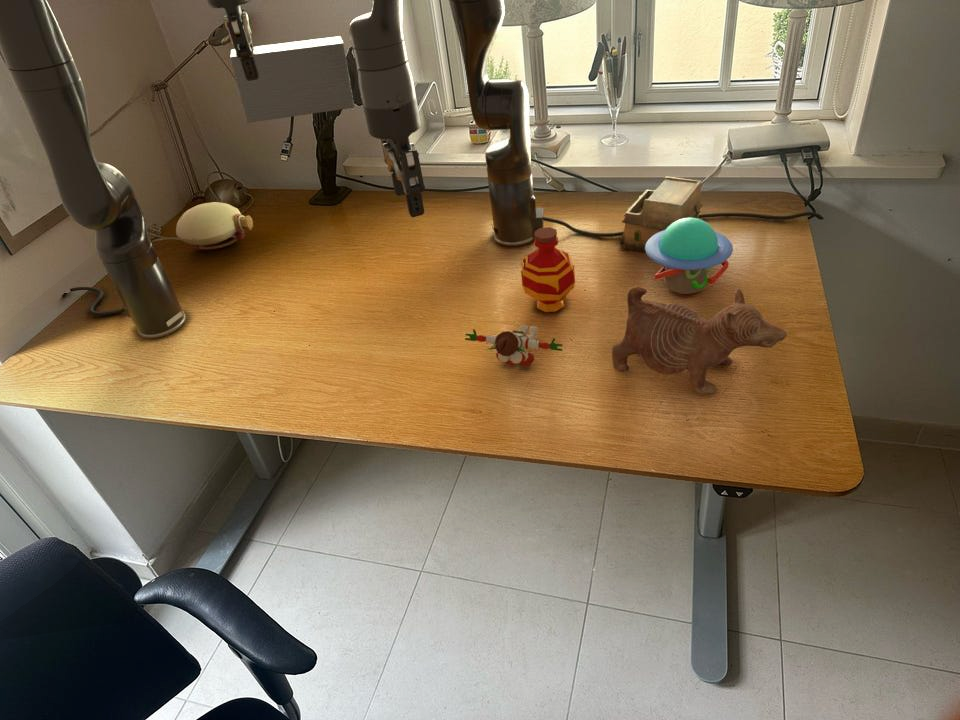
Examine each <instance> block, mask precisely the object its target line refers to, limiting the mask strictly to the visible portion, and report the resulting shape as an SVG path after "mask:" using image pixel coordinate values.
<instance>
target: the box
mask: <svg viewBox="0 0 960 720" xmlns="http://www.w3.org/2000/svg"><path fill="white" fill-rule="evenodd" d="M239 49H240V50H243V49H247V48H239ZM251 50H252V52H253V59H254V63H255V66H256V69H257V73H258V79H257V80H252V81H248V80H247V79H246V77H245V73H244V70H243V67H242V64H241V60H239V58H238V57H237V56H236V50H235V48H233V49H230V55H229V59H230V62H231V66H232V70H233V74H234V77H235V82H236V85H237V89H238V92H239V96H240V100H241V104H242V108H243V111H244V115H245V119H246V123H255V122H264V121H270V120H277V119H284V118H292V117H299V116H305V115H312V114H318V113H325V112H332V111H341V110H347V109H354V108H355V101H354V97H353V90H352V85H351V79H350V72H349V67H348V61H347V56H346V49H345V44H344V40H343V39H342V37H341V36H340V35H338V36H330V37H323V38H314V39H307V40H299V41H290V42H282V43H274V44H265V45H264V44H263V45H257V46H253V47H251Z"/></svg>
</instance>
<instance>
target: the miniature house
mask: <svg viewBox="0 0 960 720" xmlns="http://www.w3.org/2000/svg"><path fill="white" fill-rule="evenodd" d="M702 183H703V181H702V180H699V179H698V180H697V179H690V178H683V177H676V176H675V177H674V176H667V175H666V176H665V177H664V178H663V181H662V182H661V183H660V185H659V186H658V187H657V188H656V189H646V190H644V191H643V193H642V194H641V195H639V196H638V197H637V199H636V200H635V202H634V203H632V205H630V207H628V208H626V211H625V213H624V215H623V217H624V219H623V220H622V221H621V224H624V229H623V231H624V232H623V231H622V232H623V235H622V236H620V238H619V242H620V243H623V249H625V250H630V251H636V252H641V253H646V251H645V245H646V243H647V241H648V240H649V239H650V238H651V237H652V236H653V235H655V234H656V233H658V232H661V231H663V230H666V229H667V227H669V226H670V225H671V224H672V223H673V222H675V221H677V220H679V219H683V218H697V219H699V218H698V217H699V215H700V213H701V208H702V207H703V205H704V204H703V203H701V193H702V192H701V191H702Z"/></svg>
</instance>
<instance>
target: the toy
mask: <svg viewBox="0 0 960 720" xmlns="http://www.w3.org/2000/svg"><path fill="white" fill-rule="evenodd" d="M528 330H529V334H528ZM538 330H539V327H538V326H535V325H532V326H528V325H525V324H521V325H520V326H519V330H515V329H514V330H512V331H509V330H508V331H502V332H500V333H498V334H497V335H492V334H491V335H489V334H487V335H486V336H485V335H483V334H479V335H478V334H477V330H476V329H475V328H474V329H472V333H465V334H464V335H465V336H467V337H465V338H464V340H465V341H472V342H477V341H478V342H480V343H486V344H487V345H488V344H490V345H491V346H490V347H488V348H486V349H487V350H490V351H491V350H496V354H495V357H496V358H497V360H498V361H499V362H502V364H504V365H509V366H515V365H521V366H522V368H523V367H524V368H525V367H532V364H533V363H534V361H535V355H534V354H533V353H531V352H528V351H527V350H530V349H531V350H534V349H536V350H540V349H542V350H548V349H549V350H551V351H558V352H562V351H563V348H559V347H563V346H564V344H562V343H556V338H555V337H553V338H552V339H551V342H550V343H549V342H545V341H544V342H543V341H542V342H541V341H540V340H537V333H538ZM526 349H527V350H526Z"/></svg>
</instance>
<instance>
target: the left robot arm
mask: <svg viewBox="0 0 960 720" xmlns="http://www.w3.org/2000/svg"><path fill="white" fill-rule="evenodd" d="M251 1H252V0H207V3H208V6H209V7H210V8H213V9H224V10H225V13H226V15H224V16H223V17H224V18H223V22H224V25H225V28H226V30H227V31H228V35H229V38H230V42H231V44H232V46H233V47H234V49H235V50H236V56H237V57H238V58H239V60H241V64H242V67H243V70H244V73H245V77H246V79H247V80H248V81H252V80H257V79H258V73H257V69H256V66H255V63H254V59H253V52H252V50H251V47H254V43H253V38H252V37H253V34H252V30H251V27H250V20H249V16H248V13H247V12H245V9H244V8H243V6H241V5H245V4H247V3H250V2H251ZM240 48H247V49H243V50H240ZM0 52H1V55H2V58H3V60H4V63H5V66H6V67H7V70H8V72H9V75H10V77H11V79H12V81H13V83H14V86H15V88H16V90H17V92H18V94H19V96H20V99H21V100H22V102H23V105H24V107H25V109H26V111H27V113H28V116H29V119H30V120H31V123H32V125H33V127H34V130H35V132H36V135H37V136H38V139H39V141H40V143H41V146H42V148H43V150H44V153H45V155H46V157H47V161H48V163H49V166H50V169H51V172H52V175H53V178H54V181H55V185H56V189H57V192H58V195H59V198H60V201H61V203H62V206H63V208H64V209H65V211H66V213H67V215H69V217H70V218H71V219H72V220H73V221H74V222H75V223H77V224H79V225H80V226H82V227H84V228H86V229H89V230H93V231H94V232H95V233H94V234H95V235H94V236H95V238H94V248H95V252H96V254H97V255H98V258H99V259H100V261H101V263H102V266H103V267H104V269H105V270H106V273H107V274H108V276H109V278H110V280H111V282H112V284H113V285H114V288H115V290H116V292H117V293H118V296H119V297H120V299H121V301H122V303H123V306H122V308H121V309H118V310H117V309H116V310H112V311H111V310H110V311H102V312H101V311H100V312H99V311H95V310H94V309H95V308H96V306H97V305H98V304H99V302H100V301H101V300H102V299H103V298H104V291H103V290H102V289H100V288H98V287H92V286H76V287H72V288H71V287H70V288H69V289H70V291H71V292H69V293H64V292H63V293H64V294H63V293H62V294H63V295H61V297H62V298H65V297H66V296H67V295H68V294H70V293H72V292H76V291H91V292H96V293H99V294H98V297H97V298H96V299H95V300H94V301H93V302H92V304H91V305H90V307H89V309H88V310H89V313H90V314H91V315H93V316H98V317H105V316H106V317H107V316H113V315H118V314H123V313H125V314H126V316H127V317H128V318H131V320H132V322H133V324H134V326H135V328H136V331H137V333H138V335H139V336H140V337H142V338H144V339H150V340H151V339H158V338H162V337H166V336H168V335H171V334H172V333H175V332H176V331H178V330H180V329H181V328H182V327H183V326H184V324H185V323H186V321H187V316H186V314H185V311H183V308H182V306H181V304H180V301H179V300H178V297H177V295H176V293H175V291H174V288H173V286H172V285H171V282H170V280H169V278H168V276H167V274H166V271H165V269H164V266H163V265H162V263H161V261H160V259H159V257H158V255H157V252H156V250H155V248H154V245H153V244H152V241H151V239H150V237H149V233H148V225H147V221H146V218H145V215H144V213H143V210H142V209H141V206H140V203H139V201H138V199H137V197H136V194H135V192H134V189H133V188H132V186H131V184H130V182H129V180H128V179H127V178H126V177H125V175H124V174H123V173H122V172H121V171H120V170H119V169H118V168H116V167H114V166H112V165H111V164H109V163H104V162H98V160H97V158H96V155H95V152H94V149H93V146H92V141H91V135H90V124H89V123H90V121H89V112H88V111H89V110H88V104H87V98H86V91H85V88H84V84H83V81H82V78H81V76H80V73H79V70H78V68H77V66H76V63H75V60H74V58H73V55H72V52H71V50H70V48H69V46H68V43H67V41H66V39H65V36H64V34H63V31H62V29H61V27H60V25H59V22H58V21H57V19H56V16H55V14H54V13H53V11H52V9H51V6H50V4H49V2H48V1H47V0H0Z"/></svg>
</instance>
